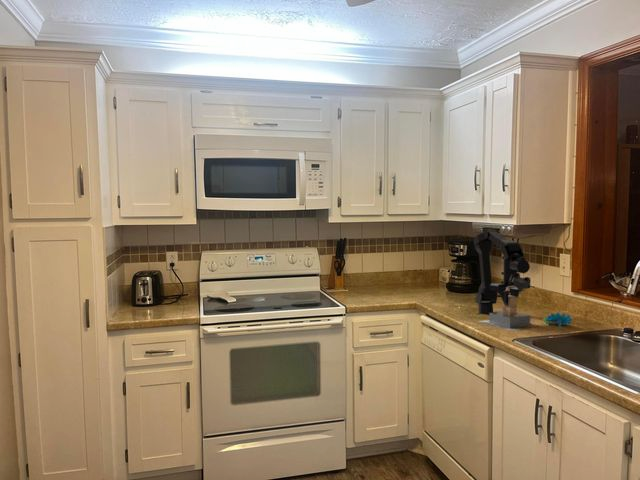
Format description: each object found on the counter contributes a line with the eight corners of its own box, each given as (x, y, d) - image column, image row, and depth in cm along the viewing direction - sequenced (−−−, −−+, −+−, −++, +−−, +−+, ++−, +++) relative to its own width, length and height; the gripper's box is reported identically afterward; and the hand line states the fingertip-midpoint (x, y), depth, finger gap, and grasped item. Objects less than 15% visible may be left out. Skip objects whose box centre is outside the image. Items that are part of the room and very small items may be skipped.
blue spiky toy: (572, 323, 211) (570, 310, 205) (573, 335, 207) (571, 322, 201) (545, 324, 216) (542, 311, 210) (545, 335, 213) (543, 323, 206)
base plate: (477, 323, 219) (477, 321, 219) (507, 319, 226) (507, 317, 226) (511, 334, 201) (511, 331, 200) (542, 329, 208) (542, 326, 208)
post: (502, 316, 214) (502, 296, 213) (509, 315, 216) (509, 295, 215) (509, 318, 210) (510, 297, 210) (516, 317, 212) (517, 296, 211)
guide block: (489, 322, 216) (489, 312, 216) (509, 319, 221) (509, 309, 221) (509, 328, 205) (510, 317, 205) (530, 325, 210) (530, 314, 210)
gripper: (508, 274, 200) (508, 310, 202) (540, 271, 208) (539, 306, 209) (489, 270, 211) (488, 305, 212) (520, 268, 218) (519, 301, 219)
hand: (509, 305), depth 213 cm, fingers closed on post, 4 cm apart
